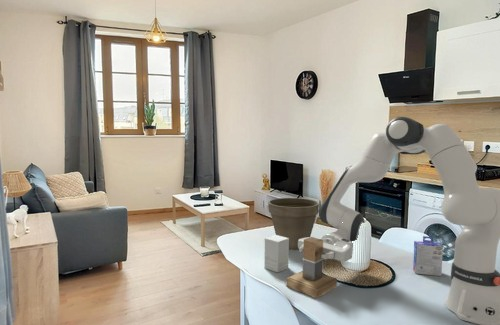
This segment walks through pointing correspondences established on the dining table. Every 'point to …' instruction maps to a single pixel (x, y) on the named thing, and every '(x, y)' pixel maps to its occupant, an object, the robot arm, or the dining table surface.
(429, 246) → the ink cartridge box
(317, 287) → the oak plinth
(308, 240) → the block
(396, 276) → the dining table surface
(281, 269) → the supplement box
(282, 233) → the plant pot
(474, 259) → the robot arm
